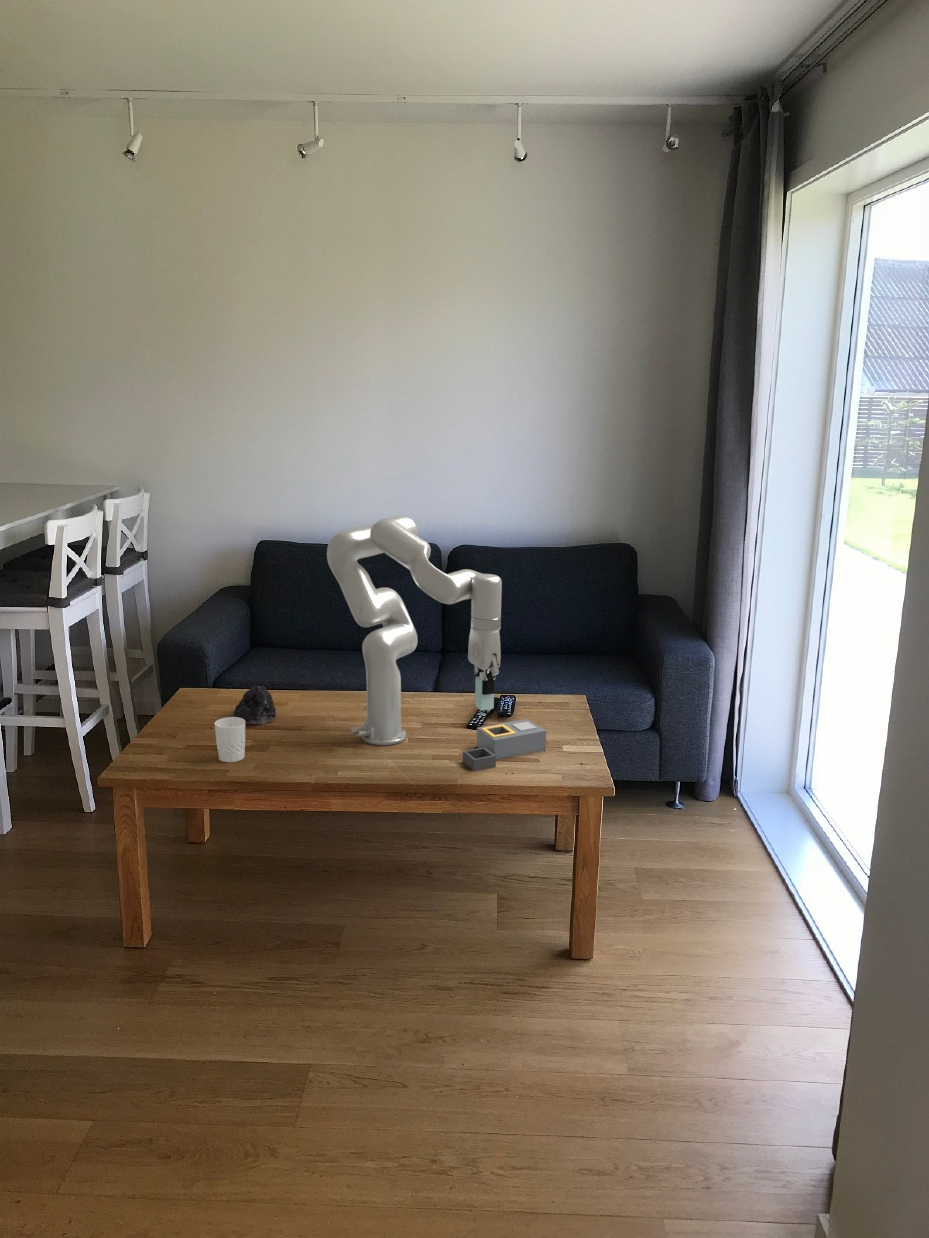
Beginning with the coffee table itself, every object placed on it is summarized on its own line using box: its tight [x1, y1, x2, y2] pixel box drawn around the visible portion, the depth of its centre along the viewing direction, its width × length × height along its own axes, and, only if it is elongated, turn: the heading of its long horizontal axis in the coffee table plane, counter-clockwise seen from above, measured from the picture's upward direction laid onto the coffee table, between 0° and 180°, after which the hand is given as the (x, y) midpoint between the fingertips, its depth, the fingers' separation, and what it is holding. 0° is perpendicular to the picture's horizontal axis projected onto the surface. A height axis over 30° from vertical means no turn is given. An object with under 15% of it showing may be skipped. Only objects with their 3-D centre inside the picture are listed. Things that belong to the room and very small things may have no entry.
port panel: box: [476, 718, 547, 760], centre depth 253 cm, size 16×10×6 cm, turn 117°
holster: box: [462, 747, 497, 772], centre depth 242 cm, size 6×6×4 cm
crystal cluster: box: [233, 685, 277, 725], centre depth 273 cm, size 13×14×10 cm
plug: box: [474, 671, 495, 711], centre depth 239 cm, size 4×4×10 cm
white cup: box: [213, 716, 246, 763], centre depth 244 cm, size 8×8×10 cm
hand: (484, 690), depth 239 cm, fingers closed on plug, 3 cm apart
